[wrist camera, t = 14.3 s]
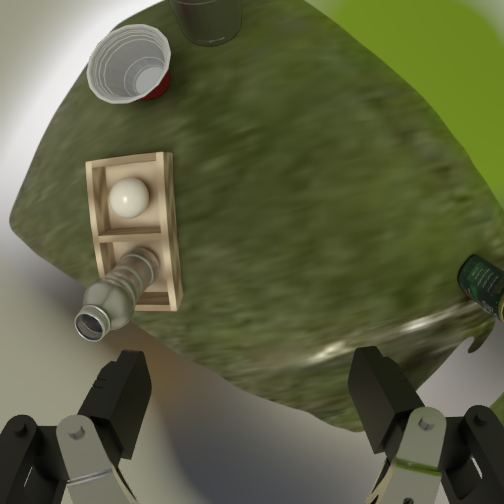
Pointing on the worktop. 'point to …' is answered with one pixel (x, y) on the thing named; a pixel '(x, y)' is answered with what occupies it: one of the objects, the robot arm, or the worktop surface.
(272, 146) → the worktop surface
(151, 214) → the crate
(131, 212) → the white ball
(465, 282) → the coffee jar
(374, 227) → the worktop surface
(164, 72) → the plastic cup
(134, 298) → the plastic bottle
